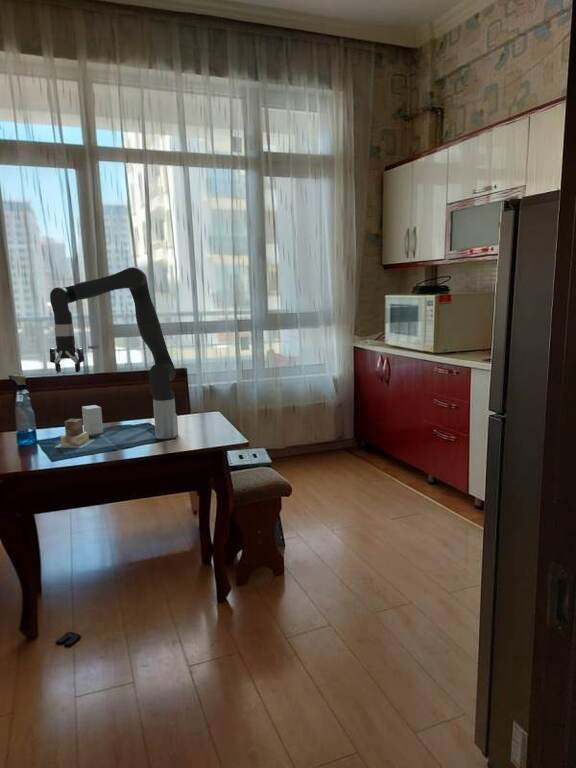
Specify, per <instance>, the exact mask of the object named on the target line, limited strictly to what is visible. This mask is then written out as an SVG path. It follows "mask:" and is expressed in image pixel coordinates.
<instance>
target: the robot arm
mask: <svg viewBox="0 0 576 768" xmlns="http://www.w3.org/2000/svg"><path fill="white" fill-rule="evenodd" d="M121 289H122V290H123V289H129V292H130V294H131V297H132V299H133V302H134V303H133V304H134V307H135V308H134V311H135V319H136V324H137V328H138V331H139V334H140V336H141V339H142V340H143V342H144V344H145V345H146V346H147V348H148V349H149V350H150V352H151V354H152V358H153V360H154V361H153V362H154V364H152V366H151V367H150V369H149V373H148V376H149V387H150V393H151V395H152V400H153V401H152V402H153V403H152V404H153V417H154V418H153V419H154V433H155V438H156V439H159V440H167V439H168V440H169V439H175V438H176V437H178V436H179V426H178V425H179V424H178V414H177V413H176V400H175V399H176V397H175V392H174V391H173V390H172V388H171V382H172V381H173V380H174V378H175V377H176V368H175V365H174V363H173V361H172V357H171V356H170V353H169V351H168V348H167V344H166V341H165V340H166V339H165V337H164V334H163V330H162V326H161V323H160V320H159V317H158V314H157V312H156V309H155V306H154V303H153V300H152V298H151V294H150V289H149V283H148V278H147V275H146V273H145V272H144V271H143V270H142V269H140V268H139V267H136V266H131V267H127V268H125V269H123V270H121V271H118V272H116V273H113V274H110V275H108V276H102V277H100V278H95V279H90V280H85V281H82V282H78V283H75V284H74V285H70V286H64V287H54V288H53V289H52V290H51V291H50V294H49V301H50V305H51V309H52V313H53V318H54V336H55V337H54V338H55V346H56V348H50V349H49V362H50V363H52V364H54V365H55V366H54V368H55V371H56V373H58V374H59V373H61V372H62V366H61V365H62V364H61V361H62V360H63V359H70V360H71V361H73V363H74V370H75V371H74V372H75V373H80V371H81V363H82V362H83V363H84V362H85V357H84V349H83V348H82V347H80V348H79V347H78V348H76V340H75V329H74V324H73V315H72V312H71V310H70V309H69V308H70V307H69V304H71V303H74V302H78V301H81V300H82V301H83V300H87V299H91V298H94V297H99V296H101V295H104V294H106V293H108V292H112V291H116V290H121ZM76 353H77V354H76ZM56 354H57V356H56Z"/></svg>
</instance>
